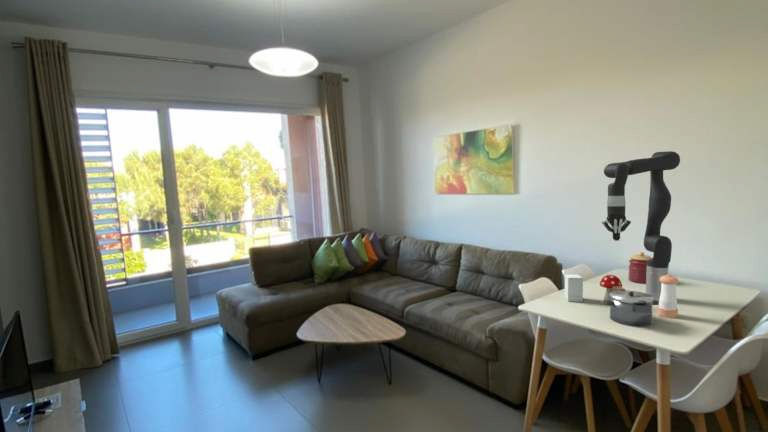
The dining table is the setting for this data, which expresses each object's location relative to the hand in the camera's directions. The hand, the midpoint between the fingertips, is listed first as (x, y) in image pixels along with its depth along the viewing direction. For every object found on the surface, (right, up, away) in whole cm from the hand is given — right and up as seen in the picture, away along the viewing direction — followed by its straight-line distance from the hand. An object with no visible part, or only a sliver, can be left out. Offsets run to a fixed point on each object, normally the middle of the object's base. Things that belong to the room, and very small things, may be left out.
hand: (616, 240), depth 194 cm
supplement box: (-13, -32, +16) cm, 39 cm away
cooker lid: (-2, -25, -13) cm, 28 cm away
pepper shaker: (+17, -34, -11) cm, 40 cm away
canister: (+41, -27, +45) cm, 67 cm away
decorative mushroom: (+1, -33, +7) cm, 33 cm away
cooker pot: (-2, -35, -16) cm, 39 cm away
